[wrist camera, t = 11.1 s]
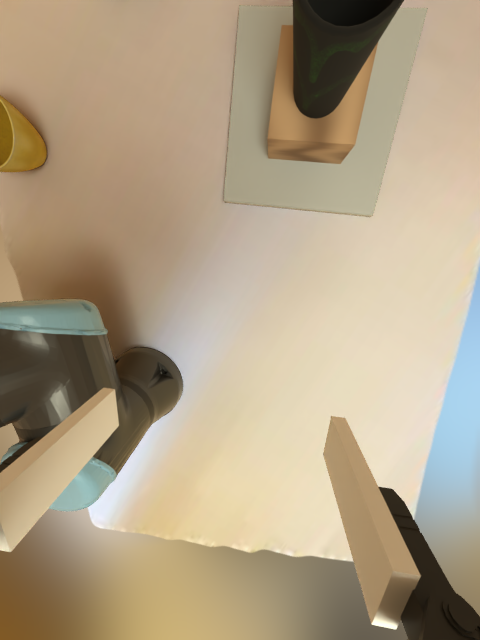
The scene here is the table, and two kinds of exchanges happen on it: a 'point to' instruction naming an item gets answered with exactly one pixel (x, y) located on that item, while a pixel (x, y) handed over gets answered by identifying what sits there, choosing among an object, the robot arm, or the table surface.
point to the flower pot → (18, 141)
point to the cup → (333, 48)
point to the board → (300, 176)
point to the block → (309, 133)
